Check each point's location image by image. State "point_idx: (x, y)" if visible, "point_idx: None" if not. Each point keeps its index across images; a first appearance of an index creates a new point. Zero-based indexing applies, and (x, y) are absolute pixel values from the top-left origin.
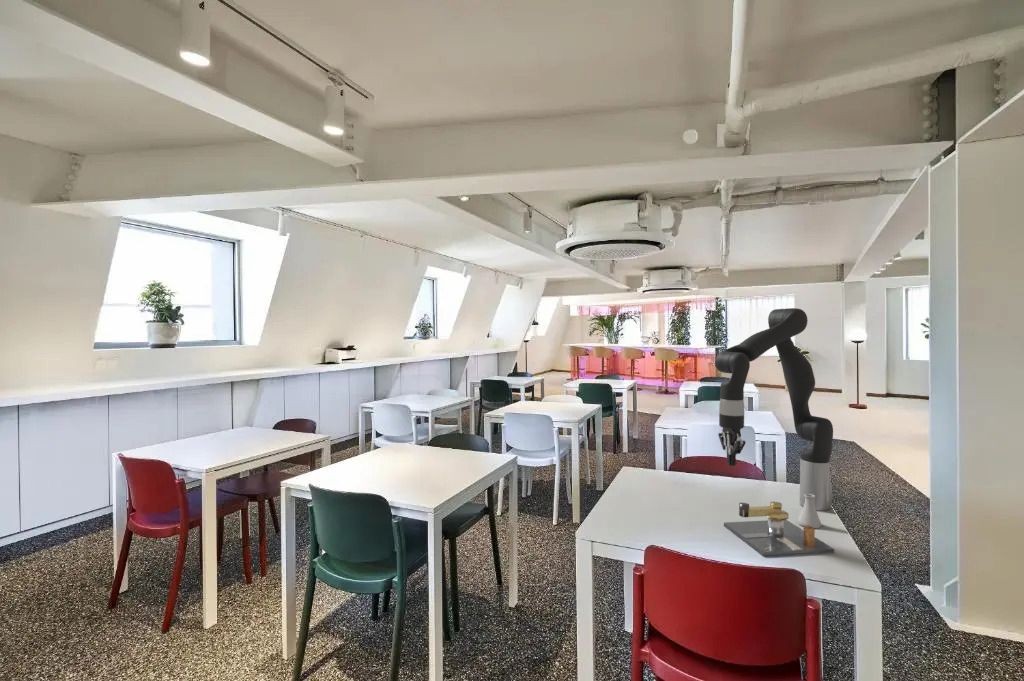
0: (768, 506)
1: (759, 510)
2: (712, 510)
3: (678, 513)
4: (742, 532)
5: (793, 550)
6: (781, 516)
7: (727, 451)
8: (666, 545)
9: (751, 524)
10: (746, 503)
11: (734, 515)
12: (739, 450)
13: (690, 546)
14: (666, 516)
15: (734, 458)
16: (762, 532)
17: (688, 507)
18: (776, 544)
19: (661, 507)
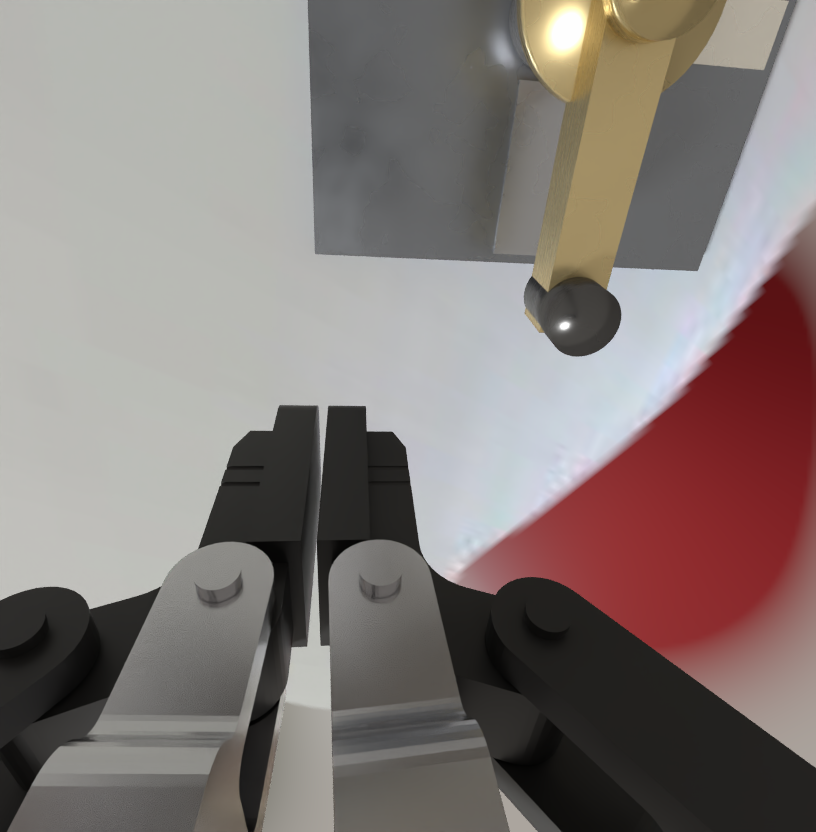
0: (609, 53)
1: (628, 199)
2: (35, 169)
3: (123, 402)
4: (467, 227)
5: (762, 75)
6: (715, 8)
7: (283, 698)
8: (465, 557)
9: (367, 76)
10: (580, 297)
11: (124, 47)
12: (633, 699)
13: (495, 493)
14: (173, 469)
15: (409, 523)
16: (499, 90)
17: (3, 307)
18: (662, 127)
19: (36, 449)
